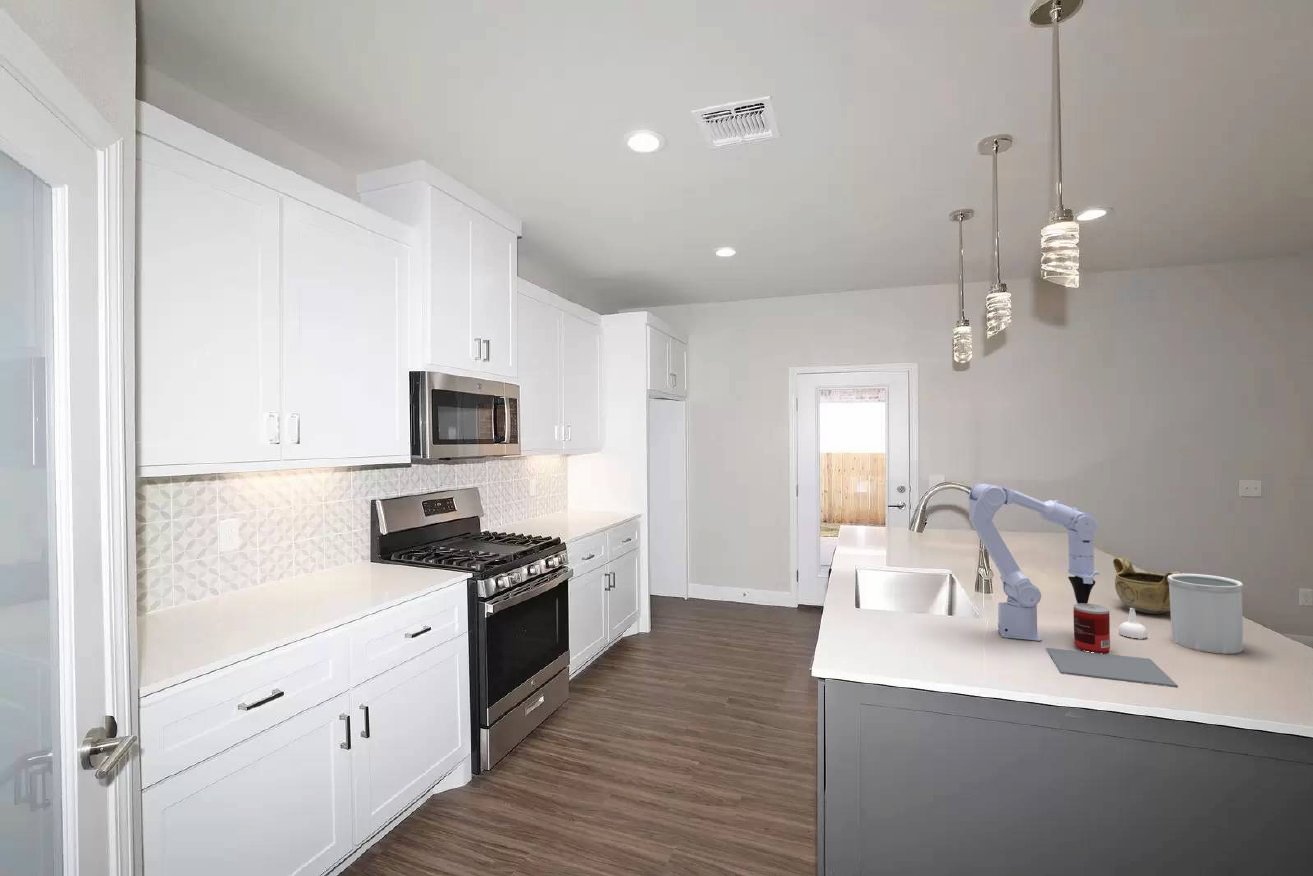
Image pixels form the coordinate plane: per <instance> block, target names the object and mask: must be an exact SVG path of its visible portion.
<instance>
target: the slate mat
mask: <svg viewBox="0 0 1313 876" xmlns="http://www.w3.org/2000/svg"><path fill="white" fill-rule="evenodd" d="M1046 649H1047V650H1048V651H1047V650H1046ZM1046 649H1045V650H1046V651H1047V653H1048V655H1049V654H1050V655H1049V656H1050V658H1051V657H1052V658H1051V659H1053V660H1052V661H1053V663H1054V664H1056V665H1055V666H1056V668H1057V670H1058V669H1059V670H1058V671H1059V673H1060V674H1063V673H1066V674H1065V675H1073V676H1081V677H1090V678H1095V679H1096V678H1098V679H1099V678H1100V679H1105V678H1106V679H1107V680H1114V681H1120V682H1121V681H1122V682H1123V681H1124V682H1130V681H1131V683H1138V682H1144V683H1143V684H1147V683H1153V684H1152V685H1155V684H1159V685H1158V686H1163V685H1167V686H1166V687H1173V688H1178V687H1179V686H1178V684H1177V683H1176V682H1175V681H1174V680H1173V679H1172V678H1171V677H1170V676H1168V674H1167V673H1166V672H1165V671H1164V670H1163V669H1161V668H1160V667H1159V666H1158V665H1157V664H1156V662H1154V661H1153V660H1152V659H1151V658H1147V657H1146V658H1145V657H1138V656H1137V657H1136V656H1129V655H1118V654H1108V653H1104V654H1101V653H1091V652H1085V651H1082V650H1070V649H1061V648H1053V647H1052V648H1051V647H1046Z"/></svg>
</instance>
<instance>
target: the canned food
mask: <svg viewBox="0 0 1313 876" xmlns="http://www.w3.org/2000/svg"><path fill="white" fill-rule="evenodd" d="M1072 613H1073V644H1074V646H1076V647H1077V648H1078V649H1077V648H1076V647H1075V648H1076V649H1077V650H1079V649H1080V650H1079V651H1082V650H1085V651H1089V652H1094V653H1104V654H1107V653H1106V652H1108V651H1109V652H1110V650H1111V641H1110V639H1111V636H1110V635H1111V634H1110V633H1111V623H1110V617H1111V615H1110V609H1109V608H1108V607H1106V606H1104V605H1100V604H1096V603H1079V604H1078V603H1075V604H1073V611H1072ZM1085 651H1084V652H1085ZM1109 652H1108V653H1109Z"/></svg>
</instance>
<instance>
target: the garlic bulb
mask: <svg viewBox="0 0 1313 876" xmlns="http://www.w3.org/2000/svg"><path fill="white" fill-rule="evenodd" d="M1118 633H1119V634H1120V635H1121V636H1122V635H1123V636H1122V637H1124V636H1127V637H1131V638H1130V639H1132V638H1138V639H1137V640H1144V639H1147V637H1148V630H1147V628H1146V627H1145V626H1144V625H1143V624H1141V623H1139V621H1138V618H1137V614H1136V610H1135V609H1133V608H1130V607H1129V612H1128V618H1127V620H1126V621H1124V622H1121V623H1120V625H1119V626H1118ZM1127 637H1126V638H1127ZM1143 638H1144V639H1143Z"/></svg>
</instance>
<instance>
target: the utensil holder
mask: <svg viewBox="0 0 1313 876" xmlns="http://www.w3.org/2000/svg"><path fill="white" fill-rule="evenodd" d="M1168 582H1169V593H1170V611H1169V612H1170V623H1171V637H1172V641H1173V642H1174V641H1175V642H1176V643H1175V642H1174V643H1175V644H1177V643H1178V644H1177V645H1179V644H1180V645H1179V646H1181V645H1182V646H1181V647H1184V646H1186V647H1185V648H1187V647H1189V648H1188V649H1191V648H1192V649H1191V650H1196V651H1200V650H1202V651H1201V652H1206V653H1212V654H1223V655H1224V654H1225V655H1227V654H1228V655H1231V654H1239V653H1241V652H1242V651H1243V645H1244V644H1243V638H1244V637H1243V636H1244V632H1243V631H1244V630H1243V629H1244V626H1243V625H1244V624H1243V593H1242V591H1243V590H1244V589H1243V588H1244V584H1243V583H1242V582H1241V581H1240V580H1236V579H1233V578H1229V577H1223V576H1218V575H1210V574H1202V573H1201V574H1200V573H1183V574H1172V575H1169V576H1168Z"/></svg>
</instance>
